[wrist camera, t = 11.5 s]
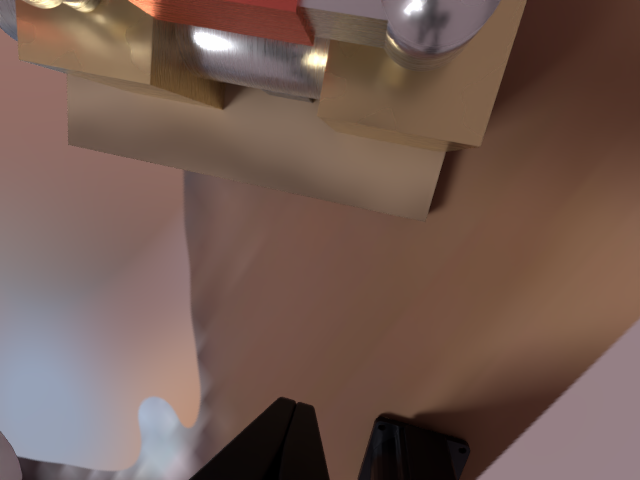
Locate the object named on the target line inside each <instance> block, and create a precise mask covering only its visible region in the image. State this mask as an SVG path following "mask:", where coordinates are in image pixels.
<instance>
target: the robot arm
mask: <svg viewBox="0 0 640 480" xmlns="http://www.w3.org/2000/svg"><path fill="white" fill-rule="evenodd" d="M380 424H383V425H384V426H381V425H380ZM461 447H462V449H461ZM469 454H470V448H469V445H468V443H467V442H466V441H464V440H462V439H458V438H455V437H451V436H448V435H444V434H441V433H437V432H434V431H430V430H427V429H423V428H420V427H416V426H413V425H409V424H406V423H402V422H399V421H395V420H392V419H388V418H385V417H378V418H376V420H375V422H374V425H373V429H372V432H371V435H370V439H369V442H368V445H367V449H366V452H365V455H364V459H363V462H362V465H361V469H360V472H359V475H358V480H459V478H460V475H461V473H462V471H463V468H464V466H465V463H466V461H467V459H468V456H469ZM189 480H330V479H329V474H328V469H327V465H326V460H325V455H324V451H323V446H322V441H321V436H320V432H319V427H318V422H317V418H316V413H315V409H314V407H313V406H312V405H309V404H305V403H302V402H298V403H297V404H296V401H294V400H292V399H288V398H285V397H279V398H278V399H277V400H276V401H275V402H274V403H272V404H271V405H270V406H269V407H268V408H267V409H266V410H265V411H264V412H263V413H261V414H260V415H259V416H258V417H257V418H256V419H255V420H254V421H253V422H252V423H251V424H249V425H248V426H247V427H246V428H245V429H244V430H243V431H242V432H241V433H240V434H238V435H237V436H236V437H235V438H234V439H233V440H232V441H231V442H230V443H229V444H227V445H226V446H225V447H224V448H223V449H222V450H221V451H220V452H219V453H218V454H216V455H215V456H214V457H213V458H212V459H211V460H210V461H209V462H208V463H207V464H206V465H204V466H203V467H202V468H201V469H200V470H199V471H198V472H197V473H196V474H195V475H193V476H192V477H191V478H190V479H189Z"/></svg>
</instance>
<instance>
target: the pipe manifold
mask: <svg viewBox="0 0 640 480" xmlns="http://www.w3.org/2000/svg"><path fill="white" fill-rule="evenodd" d="M526 2H527V0H501V1H500V3H499V5H498V6H497V8H496V10H495V11H494V13H493V14H492V15H491V17H490V18H489V19H488V20H487V21H486V23H485V24H484V25H483V26H482V28H481V29H480V30H479V31H478V32H477V34H476V35H475V36H474V37H473V39H472V40H471V41H470V42H469V43H468V45H467V46H466V47H465V48H464V50H463V51H462V52H461V53H460V54H459V55H458V56H457V57H456V58H455V59H453V60H452V61H451V62H449V63H448V64H446V65H444V66H442V67H440V68H437V69H434V70H430V71H412V70H408V69H406V68H403V67H401V66H400V65H398V64H397V63H395V62H394V61H393V60H392V59H391V58H390V57H389V56H388V54H387V53H386V51H385V50H384V48H380V47H374V46H368V45H362V44H356V43H350V42H344V41H338V40H332V39H326V38H321V37H315V38H314V44H313V46H307V45H302V44H296V43H290V42H284V41H278V40H273V39H267V38H261V37H255V36H249V35H244V34H238V33H232V32H226V31H221V30H215V29H209V28H203V27H197V26H192V25H186V24H180V23H174V22H168V21H163V20H157V19H156V18H154V17H153V16H151V15H150V14H148V13H147V12H145V11H144V10H142V9H141V8H139V7H138V6H136V5H135V4H133V3H132V2H130V1H129V0H0V28H1V29H2V30H3V31H4V32H5V33H7V34H8V35H9V36H10V37H12V38H13V39H15V40H16V41H18V53H19V60H22V61H25V62H28V63H32V64H35V65H39V66H42V67H46V68H49V69H52V70H56V71H59V72H63V73H66V74H69V75H73V76H76V77H80V78H83V79H87V80H90V81H94V82H97V83H100V84H104V85H107V86H111V87H114V88H118V89H121V90H125V91H128V92H131V93H137V94H142V95H147V96H152V97H157V98H162V99H168V100H173V101H178V102H183V103H188V104H194V105H199V106H204V107H209V108H214V109H219V110H223V108H224V98H225V88H226V83H231V84H237V85H242V86H248V87H253V88H259V89H261V90H262V91H264V92H265V93H267V94H268V95H272V96H277V97H283V98H288V99H293V100H299V101H304V102H310V103H313V99H319V100H320V101H319V107H318V113H317V117H319V118H320V119H321V120H322V121H323V122H325V123H326V124H327V125H328V126H329V127H330V128H332V129H333V130H334V131H335V132H339V133H344V134H349V135H354V136H359V137H365V138H370V139H375V140H380V141H385V142H391V143H396V144H401V145H406V146H411V147H416V148H422V149H427V150H432V151H437V152H447V151H455V150H462V149H469V148H476V147H480V146H481V143H482V140H483V137H484V134H485V131H486V127H487V124H488V121H489V118H490V115H491V112H492V109H493V105H494V102H495V99H496V96H497V93H498V90H499V87H500V83H501V80H502V77H503V74H504V71H505V68H506V65H507V61H508V58H509V55H510V52H511V49H512V46H513V43H514V39H515V36H516V33H517V30H518V27H519V24H520V21H521V17H522V14H523V11H524V8H525V5H526Z"/></svg>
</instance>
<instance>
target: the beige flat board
mask: <svg viewBox="0 0 640 480" xmlns="http://www.w3.org/2000/svg"><path fill="white" fill-rule="evenodd" d="M319 101H320V100H319V99H313V103H310V102H304V101H299V100H293V99H288V98H283V97H277V96H272V95H268V94H267V93H265V92H264V91H262V90H261V89H259V88H253V87H248V86H242V85H237V84H231V83H226V88H225V98H224V108H223V110H219V109H214V108H209V107H204V106H199V105H194V104H188V103H183V102H178V101H173V100H168V99H162V98H157V97H152V96H147V95H142V94H137V93H131V92H128V91H125V90H121V89H118V88H114V87H111V86H107V85H104V84H100V83H97V82H94V81H90V80H87V79H83V78H80V77H76V76H73V75H69V74H67V104H68V145H72V146H77V147H81V148H86V149H91V150H95V151H100V152H104V153H109V154H114V155H118V156H123V157H128V158H133V159H137V160H141V161H146V162H150V163H155V164H160V165H164V166H169V167H174V168H178V169H183V170H187V171H192V172H197V173H201V174H206V175H210V176H215V177H220V178H224V179H229V180H233V181H238V182H243V183H247V184H252V185H257V186H261V187H266V188H270V189H275V190H280V191H284V192H289V193H293V194H298V195H303V196H307V197H312V198H316V199H321V200H326V201H330V202H335V203H340V204H344V205H349V206H353V207H358V208H363V209H367V210H372V211H376V212H381V213H386V214H390V215H395V216H399V217H404V218H409V219H413V220H418V221H423V222H425V221H426V218H427V215H428V211H429V208H430V204H431V201H432V197H433V194H434V190H435V187H436V184H437V180H438V177H439V173H440V170H441V166H442V163H443V160H444V156H445V153H446V152H437V151H432V150H427V149H422V148H416V147H411V146H406V145H401V144H396V143H391V142H385V141H380V140H375V139H370V138H365V137H359V136H354V135H349V134H344V133H339V132H335V131H334V130H333V129H332V128H330V127H329V126H328V125H327V124H326V123H325V122H323V121H322V120H321V119H320V118H319V117H317V113H318V107H319Z"/></svg>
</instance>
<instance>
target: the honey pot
mask: <svg viewBox="0 0 640 480" xmlns="http://www.w3.org/2000/svg"><path fill="white" fill-rule="evenodd" d="M0 480H22V472H21V468H20V464H19V460H18V458H17V455H16V454H15V451H14V449H13V448H12V446H11V444H10V443H9V442H8V440H7V439H6V438H5V436H4V435H3V434H2V433H1V431H0Z"/></svg>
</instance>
